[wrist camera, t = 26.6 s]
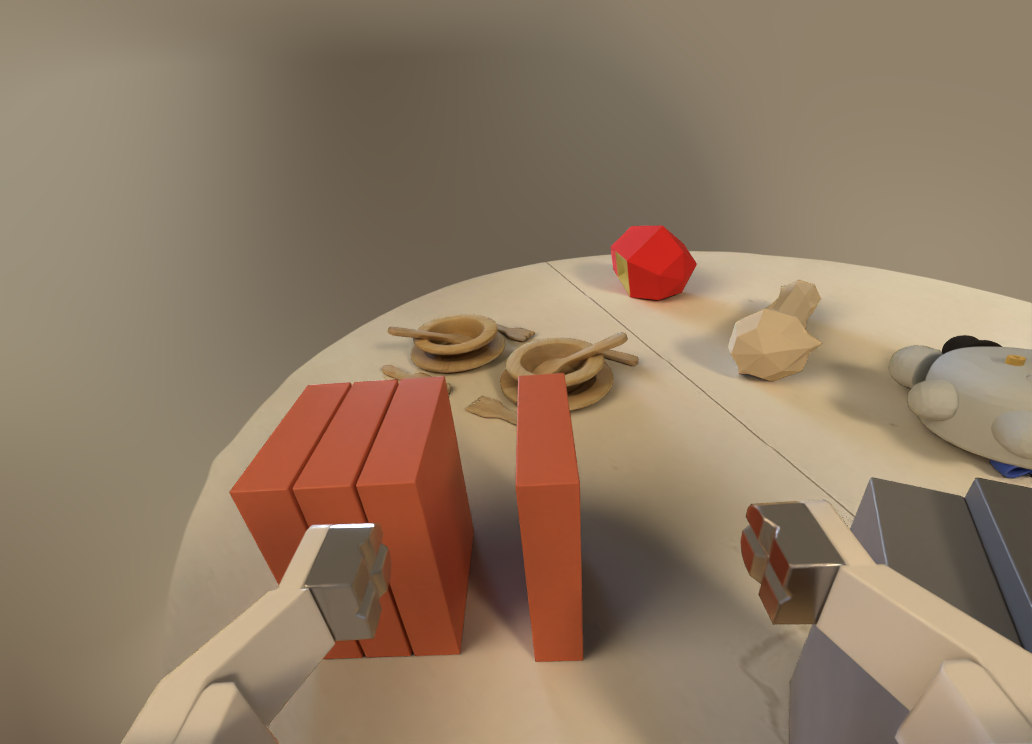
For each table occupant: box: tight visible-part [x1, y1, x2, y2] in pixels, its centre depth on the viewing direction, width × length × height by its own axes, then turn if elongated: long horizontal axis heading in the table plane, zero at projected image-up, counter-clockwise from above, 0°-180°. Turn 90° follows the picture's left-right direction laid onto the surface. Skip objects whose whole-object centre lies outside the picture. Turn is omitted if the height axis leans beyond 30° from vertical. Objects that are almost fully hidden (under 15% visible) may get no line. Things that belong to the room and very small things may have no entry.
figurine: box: [889, 335, 1032, 478], centre depth 43 cm, size 17×8×20 cm
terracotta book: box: [516, 373, 583, 662], centre depth 30 cm, size 10×3×15 cm, turn 179°
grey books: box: [789, 477, 1032, 744], centre depth 18 cm, size 10×6×17 cm, turn 154°
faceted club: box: [728, 280, 822, 381], centre depth 59 cm, size 9×8×25 cm
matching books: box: [230, 376, 474, 659], centre depth 31 cm, size 10×9×15 cm
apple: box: [611, 226, 697, 300], centre depth 77 cm, size 12×12×15 cm
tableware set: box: [382, 314, 638, 425], centre depth 60 cm, size 30×20×6 cm, turn 53°
